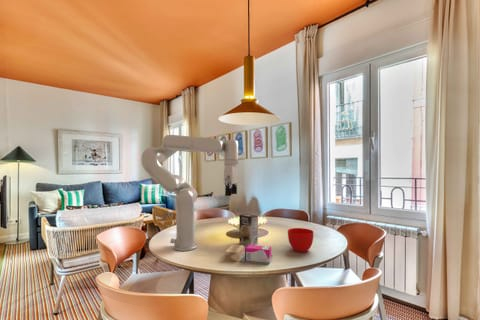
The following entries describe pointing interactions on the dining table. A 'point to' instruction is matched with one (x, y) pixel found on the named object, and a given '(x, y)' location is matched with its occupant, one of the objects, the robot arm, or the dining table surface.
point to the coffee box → (248, 229)
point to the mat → (253, 261)
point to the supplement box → (258, 253)
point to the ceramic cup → (300, 239)
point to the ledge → (234, 253)
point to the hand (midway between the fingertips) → (231, 194)
